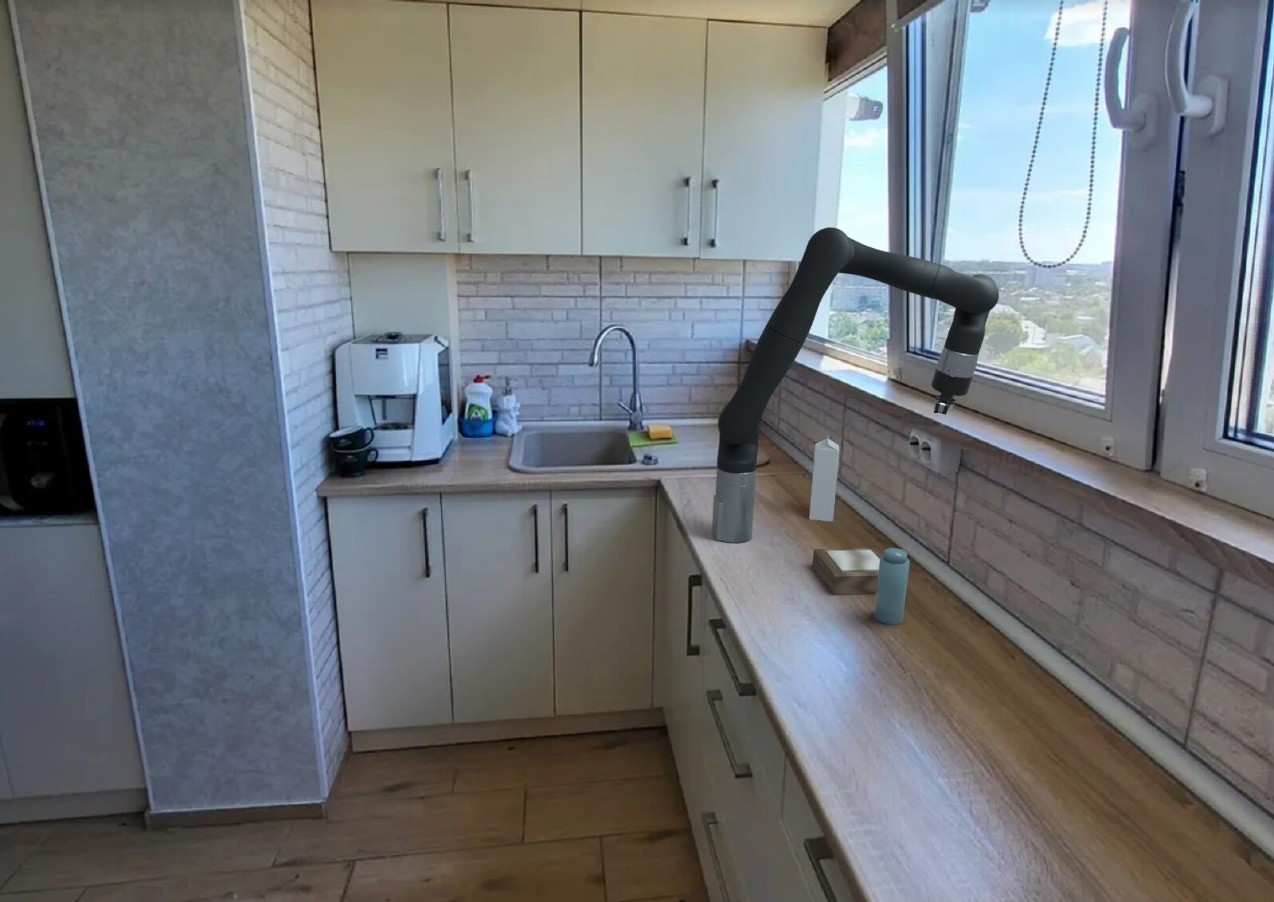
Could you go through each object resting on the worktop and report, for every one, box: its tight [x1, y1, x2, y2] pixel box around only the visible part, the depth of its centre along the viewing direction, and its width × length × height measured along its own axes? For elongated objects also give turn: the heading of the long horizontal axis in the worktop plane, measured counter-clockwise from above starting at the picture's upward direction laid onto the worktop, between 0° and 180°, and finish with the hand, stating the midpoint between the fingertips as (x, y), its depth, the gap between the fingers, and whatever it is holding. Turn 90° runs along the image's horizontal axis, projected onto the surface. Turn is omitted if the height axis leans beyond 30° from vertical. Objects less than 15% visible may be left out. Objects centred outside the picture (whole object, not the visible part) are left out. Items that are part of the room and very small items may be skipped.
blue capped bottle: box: [873, 547, 911, 626], centre depth 138 cm, size 5×5×14 cm
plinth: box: [812, 547, 883, 596], centre depth 156 cm, size 14×14×4 cm
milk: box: [808, 437, 840, 523], centre depth 189 cm, size 6×6×22 cm
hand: (933, 438), depth 164 cm, fingers open, 8 cm apart
